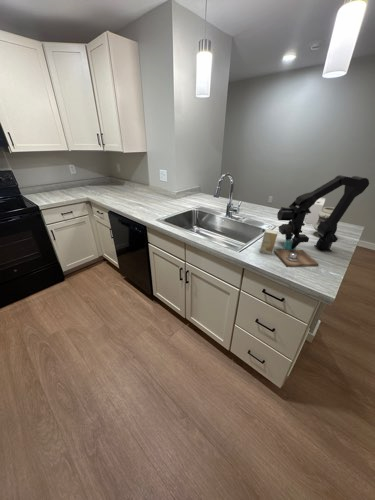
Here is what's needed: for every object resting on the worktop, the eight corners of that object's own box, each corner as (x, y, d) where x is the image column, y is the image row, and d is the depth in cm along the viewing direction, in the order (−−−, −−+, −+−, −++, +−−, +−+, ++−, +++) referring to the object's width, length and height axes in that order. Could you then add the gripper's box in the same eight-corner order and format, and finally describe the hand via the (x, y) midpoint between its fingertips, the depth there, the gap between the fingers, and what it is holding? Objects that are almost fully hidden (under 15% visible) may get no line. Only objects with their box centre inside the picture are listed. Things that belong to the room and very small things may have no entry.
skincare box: (259, 252, 108) (264, 231, 102) (260, 248, 112) (264, 228, 106) (272, 254, 107) (277, 233, 101) (272, 250, 110) (277, 230, 104)
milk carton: (306, 220, 153) (314, 195, 143) (317, 222, 149) (326, 197, 140) (305, 223, 147) (313, 197, 138) (316, 225, 144) (325, 199, 135)
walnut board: (301, 251, 110) (302, 249, 109) (318, 265, 98) (318, 263, 97) (273, 252, 109) (274, 250, 108) (286, 266, 97) (287, 264, 96)
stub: (294, 256, 103) (295, 251, 102) (299, 261, 99) (301, 256, 97) (284, 256, 103) (285, 251, 101) (289, 261, 98) (291, 256, 97)
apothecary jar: (322, 231, 135) (332, 205, 126) (337, 239, 125) (349, 211, 116) (306, 232, 133) (315, 206, 124) (320, 240, 123) (331, 212, 114)
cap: (291, 245, 116) (293, 238, 114) (296, 250, 111) (299, 243, 109) (281, 245, 116) (283, 238, 113) (286, 250, 111) (288, 243, 108)
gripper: (274, 214, 113) (268, 239, 120) (292, 227, 96) (283, 255, 104) (293, 214, 113) (286, 238, 121) (314, 227, 97) (304, 254, 105)
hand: (289, 246), depth 113 cm, fingers closed on cap, 6 cm apart
